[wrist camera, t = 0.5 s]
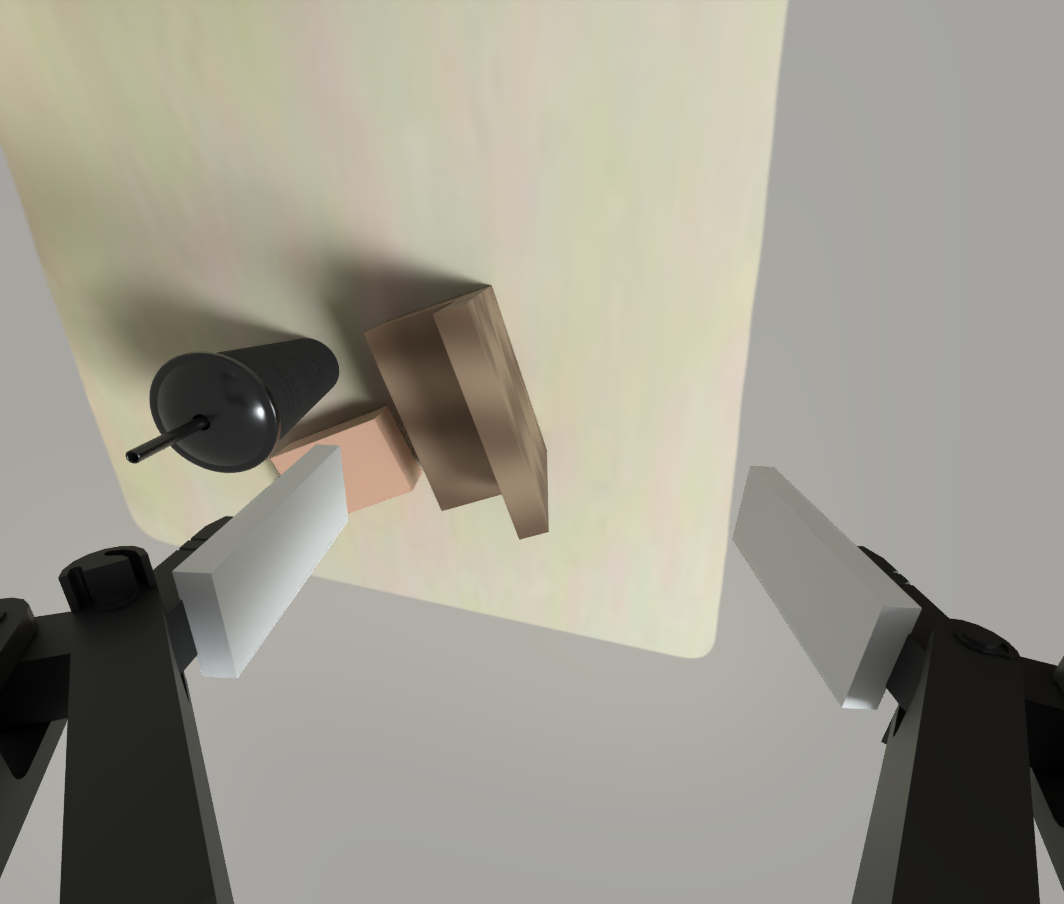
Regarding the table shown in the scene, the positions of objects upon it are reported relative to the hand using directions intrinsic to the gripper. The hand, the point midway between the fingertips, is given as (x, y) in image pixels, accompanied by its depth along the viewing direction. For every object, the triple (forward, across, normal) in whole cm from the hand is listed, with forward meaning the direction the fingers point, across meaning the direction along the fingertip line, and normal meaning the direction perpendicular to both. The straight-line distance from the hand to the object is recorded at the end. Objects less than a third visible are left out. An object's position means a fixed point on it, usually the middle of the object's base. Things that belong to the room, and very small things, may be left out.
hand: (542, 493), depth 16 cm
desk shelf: (+27, -6, -4) cm, 28 cm away
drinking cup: (+28, -20, -3) cm, 34 cm away
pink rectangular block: (+28, -16, -12) cm, 34 cm away
